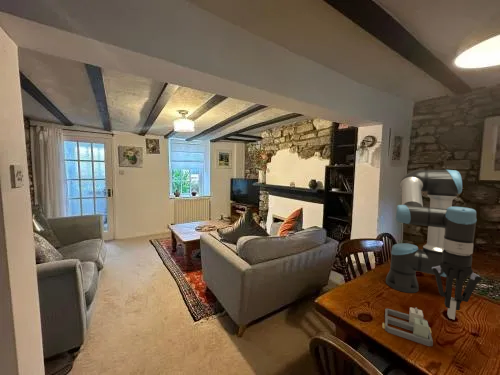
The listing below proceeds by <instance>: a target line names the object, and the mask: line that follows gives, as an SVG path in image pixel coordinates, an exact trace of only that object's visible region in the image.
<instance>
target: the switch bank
mask: <svg viewBox="0 0 500 375" xmlns="http://www.w3.org/2000/svg"><path fill="white" fill-rule="evenodd" d="M384 310H385V312H384V322H382V323H381V324H382V329H384V331H385V332H387V333H388V334H391V335H394V336H397V337H400V338H403V339H407V340H408V341H412V342H415V343H417V344H421V345H424V346H427V347H433V345H434V341H433V337H432V329H431V327H430V325H429V324H428V326H429V332H428V339H426V338H423V337H420V336H417V335H414V334H413V333H410V332H413V325H414V324H412V323H409V314H408V313H404V312H401V311H398V310H396V309H395V310H394V309H390V308H385V309H384ZM392 316H393V317H392ZM395 317H396V318H395ZM398 318H400V319H398ZM402 319H403V320H402ZM423 320H425V321H427V322H428V320H426V319H425V318H423ZM388 324H389V325H393V326H396V327H399V328H402V329H404V330H407V331H404V330H401V329H398V328H395V327H391V326H389V325H388ZM408 331H410V332H408Z"/></svg>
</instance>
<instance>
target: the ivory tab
mask: <svg viewBox="0 0 500 375" xmlns="http://www.w3.org/2000/svg"><path fill="white" fill-rule="evenodd" d="M414 317H415V318H418V319H420V318H422V320H423V319H424V313H423V310H422V309H418V307H416V306H415V307H409V320H408V322H409V323H412V324H414Z"/></svg>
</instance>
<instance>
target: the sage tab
mask: <svg viewBox="0 0 500 375" xmlns="http://www.w3.org/2000/svg"><path fill="white" fill-rule="evenodd" d="M425 320H426V319H425ZM425 320H422V318H420V319H418V318H415V317H414V325H413V331H412V334H414V335H417V336H420V337H423V338H426V339H428V332H429V327H430V325H429V323H428V320H427V321H425ZM428 325H429V326H428Z"/></svg>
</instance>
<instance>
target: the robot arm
mask: <svg viewBox="0 0 500 375" xmlns="http://www.w3.org/2000/svg"><path fill="white" fill-rule="evenodd" d="M399 188H400V190H401V204H397V205H396V211H395V221H396V222H397V223H402V224H406V225H416V226H424V227H427V236H426V237H427V239H426V241H427V242H426V244H424V245H423V246H422V248H419V247H418V246H417V245H416V244H412V243H407V242H405V243H404V242H403V243H401V242H400V243H395V244H393V245H392V247H391V252H390V254H391V255H390V256H391V257H390V264H389V265H390V267H389V271H388V272H387V275H386V277H385V284H386V285H388V286H389V287H390V288H392V289H394V290H397V291H399V292H402V293H408V294H414V293H417V292H419V291H420V290H419V288H420V287H419V282H418V279H417V276H416V275H417V274H416V272H420V273H423V274H424V273H425V274H429V275H434V277H435V281H436V285H437V288H438V293H439V294H440V297H444V306H445V307H446V308H447V313H446V314H447V317H448V318H449V319H452V320H454V321H455V319H456V312H457V311H460V310H461V303H463V302H465V303H467V302H469V300H470V299H471V297H472V294H473V292H474V290H475V288H476V286H477V284H478V283H480V282H481V281H482V279H483V278H482V277H481V276H480V275H479V274H476V273H474V271H473V269H472V265H473V264H472V263H473V253H474V241H475V234H476V233H475V232H476V224H477V221H478V219H477V210H476V209H474V208H469V207H466V206H465V207H464V206H453V200H455V199H456V198H457V197H458V195H460V194H462V192H463V178H462V175H461V173H460V171H458V170H456V169H454V170H453V169H415V170H413V171H410V172H409V173H407V174H406V175H404V176H403V177H402V178H401V180H400V182H399ZM422 192H423V193H424V192H425V193H426V195H427V197H428V198H429V200H430V201H429V207H428V206H424V205H423V202H424V201H423V197H422V195H423V194H422ZM441 277H444V278H446V280H445V290H444V286H443V281H442V278H441ZM468 277H469V279H468V282H467V283H466V285H465V288H464V290H463V286H464V285H463V284H464V280H465V279H467V278H468ZM454 279H455V286H454V287H455V288H454V297H452V293H453V282H454Z"/></svg>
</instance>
